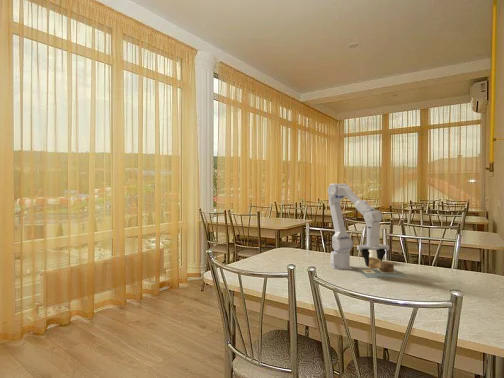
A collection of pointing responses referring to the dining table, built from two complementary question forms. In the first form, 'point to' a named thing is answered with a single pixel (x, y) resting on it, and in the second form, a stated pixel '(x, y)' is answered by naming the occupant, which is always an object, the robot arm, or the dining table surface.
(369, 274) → the build board
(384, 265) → the walnut block
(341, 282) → the dining table surface
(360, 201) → the robot arm
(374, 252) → the white cup
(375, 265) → the oak block
